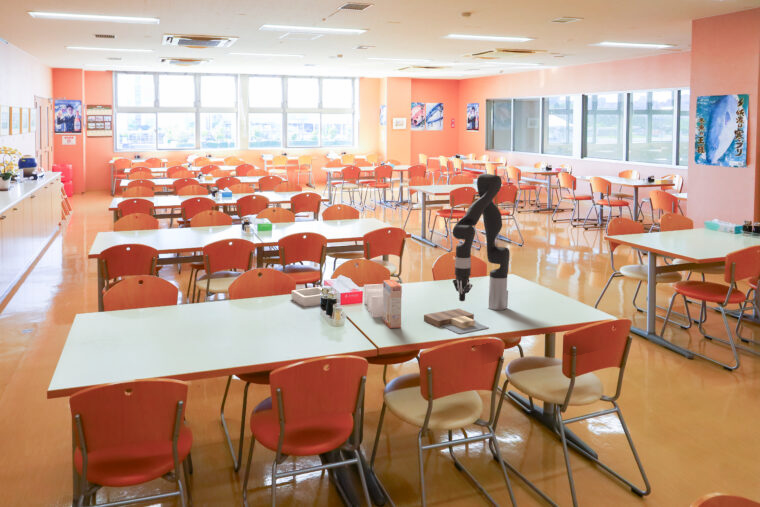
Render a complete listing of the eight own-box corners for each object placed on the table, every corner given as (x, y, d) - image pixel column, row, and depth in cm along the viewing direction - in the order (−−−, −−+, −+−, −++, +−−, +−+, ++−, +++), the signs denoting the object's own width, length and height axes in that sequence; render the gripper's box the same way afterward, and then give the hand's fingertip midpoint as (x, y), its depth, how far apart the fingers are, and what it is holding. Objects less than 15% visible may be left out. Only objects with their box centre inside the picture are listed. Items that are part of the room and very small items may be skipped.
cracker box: (401, 328, 310) (402, 285, 306) (389, 328, 308) (389, 286, 304) (394, 319, 323) (394, 279, 319) (382, 320, 322) (382, 279, 318)
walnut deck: (458, 314, 333) (459, 308, 332) (473, 320, 323) (473, 314, 322) (423, 320, 322) (423, 314, 321) (438, 326, 312) (438, 320, 311)
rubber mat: (469, 320, 323) (469, 319, 323) (488, 328, 310) (488, 327, 310) (440, 325, 314) (440, 324, 314) (459, 334, 301) (459, 333, 301)
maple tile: (464, 321, 319) (464, 315, 318) (474, 326, 312) (474, 320, 312) (451, 324, 315) (451, 318, 314) (461, 328, 308) (461, 322, 308)
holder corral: (318, 295, 368) (318, 286, 367) (332, 302, 354) (332, 293, 353) (291, 299, 359) (291, 290, 358) (304, 306, 345) (303, 297, 344)
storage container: (393, 316, 329) (393, 295, 327) (372, 317, 327) (372, 296, 325) (383, 303, 353) (383, 283, 351) (363, 304, 351) (363, 284, 349)
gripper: (477, 267, 304) (476, 303, 308) (460, 262, 315) (459, 296, 319) (465, 269, 301) (464, 305, 304) (448, 264, 312) (447, 298, 315)
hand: (462, 300), depth 312 cm, fingers closed
